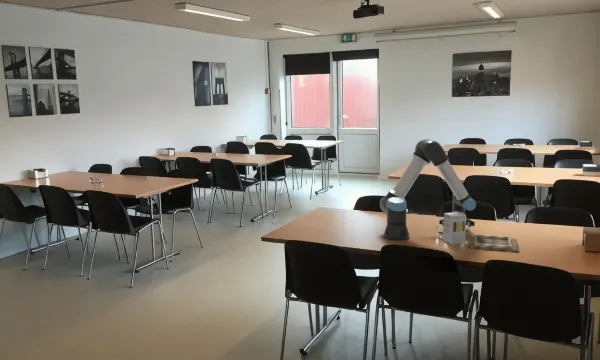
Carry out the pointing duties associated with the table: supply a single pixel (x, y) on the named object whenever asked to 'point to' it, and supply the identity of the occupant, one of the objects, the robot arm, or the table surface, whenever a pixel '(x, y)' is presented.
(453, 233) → the supplement box
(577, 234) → the table surface
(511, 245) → the grey brown square tray
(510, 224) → the table surface
